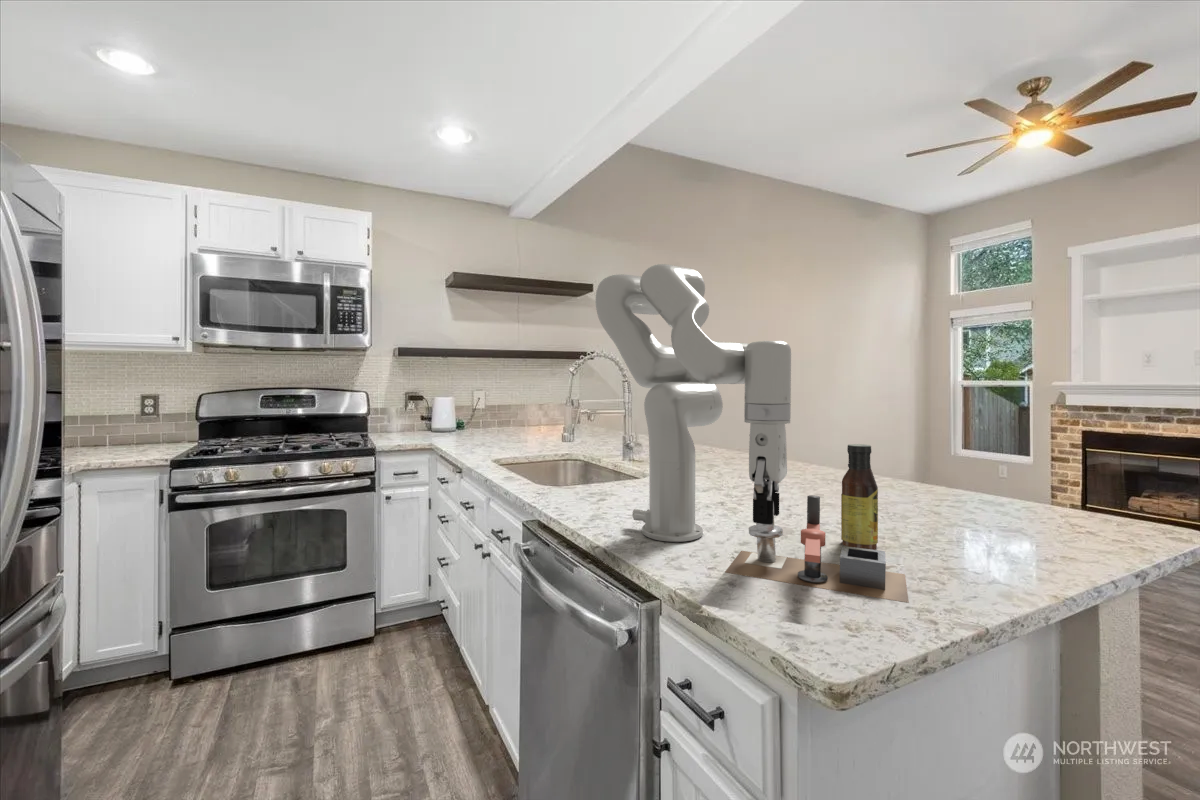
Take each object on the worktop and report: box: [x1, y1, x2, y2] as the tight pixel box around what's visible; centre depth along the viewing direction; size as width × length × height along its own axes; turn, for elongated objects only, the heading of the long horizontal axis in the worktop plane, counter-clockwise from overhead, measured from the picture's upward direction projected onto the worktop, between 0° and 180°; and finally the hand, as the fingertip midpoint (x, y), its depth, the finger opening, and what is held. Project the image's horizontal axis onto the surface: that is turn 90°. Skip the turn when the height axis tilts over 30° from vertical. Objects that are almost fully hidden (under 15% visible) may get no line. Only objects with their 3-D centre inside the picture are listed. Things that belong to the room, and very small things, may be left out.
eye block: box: [839, 545, 887, 590], centre depth 83 cm, size 6×6×4 cm
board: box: [724, 550, 910, 604], centre depth 86 cm, size 26×12×1 cm, turn 63°
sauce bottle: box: [840, 443, 879, 550], centre depth 100 cm, size 6×6×20 cm
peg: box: [748, 502, 784, 563], centre depth 92 cm, size 6×6×10 cm
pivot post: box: [798, 547, 828, 584], centre depth 84 cm, size 4×4×5 cm
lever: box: [800, 494, 826, 563], centre depth 83 cm, size 18×4×6 cm, turn 158°
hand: (766, 517), depth 92 cm, fingers open, 5 cm apart
